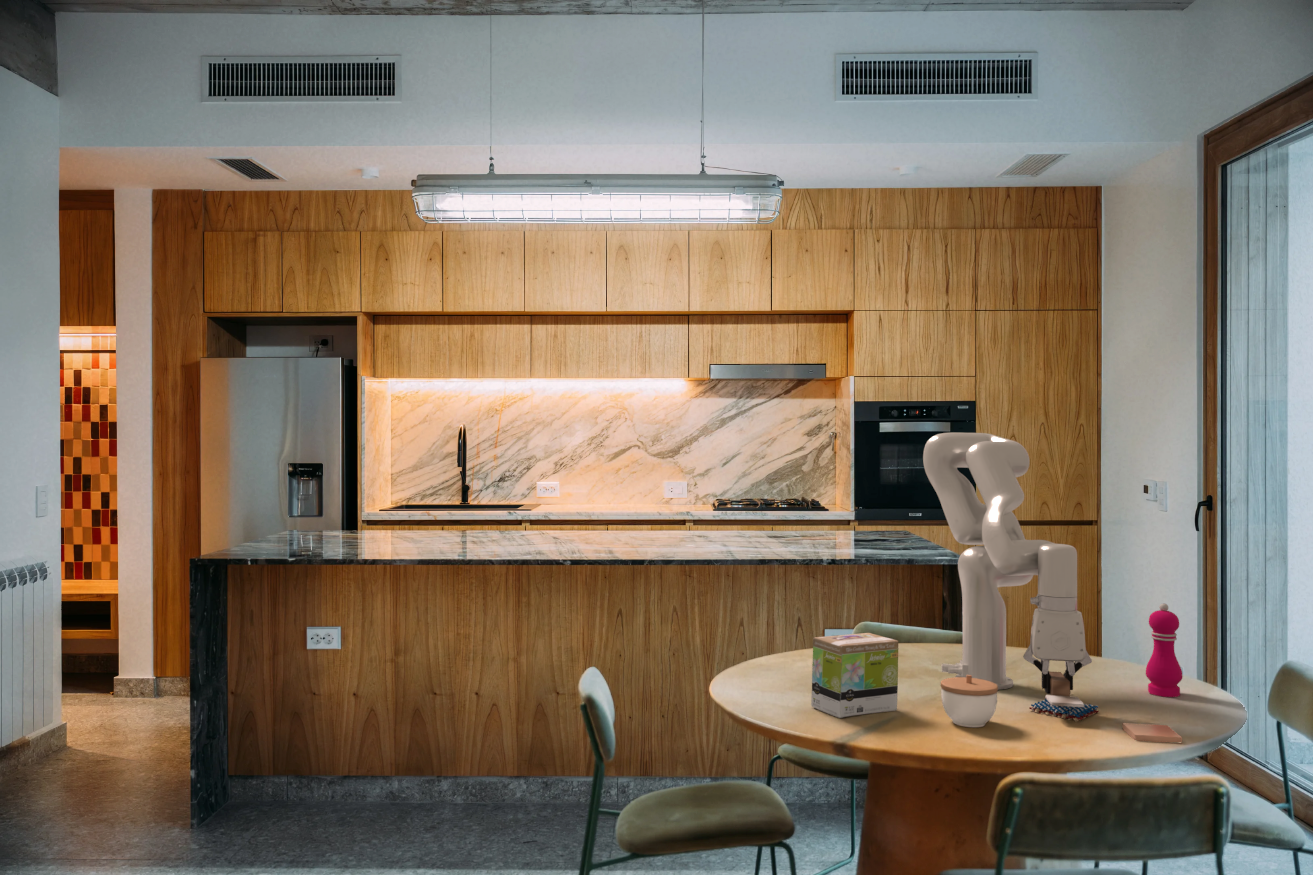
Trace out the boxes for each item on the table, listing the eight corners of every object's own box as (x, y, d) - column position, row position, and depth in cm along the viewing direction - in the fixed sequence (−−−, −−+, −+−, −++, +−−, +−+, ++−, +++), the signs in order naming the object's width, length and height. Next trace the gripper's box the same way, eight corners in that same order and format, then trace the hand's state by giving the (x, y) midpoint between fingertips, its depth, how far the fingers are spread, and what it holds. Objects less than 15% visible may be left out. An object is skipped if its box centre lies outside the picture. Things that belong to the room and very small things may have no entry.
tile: (1122, 731, 184) (1135, 743, 176) (1122, 722, 184) (1135, 734, 176) (1167, 733, 182) (1181, 746, 175) (1167, 725, 183) (1181, 737, 175)
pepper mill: (1187, 698, 206) (1187, 606, 207) (1151, 696, 208) (1151, 605, 208) (1176, 690, 213) (1176, 601, 214) (1141, 688, 215) (1141, 600, 215)
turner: (1051, 705, 187) (1051, 687, 187) (1037, 687, 202) (1037, 670, 202) (1084, 707, 186) (1084, 689, 186) (1067, 688, 201) (1067, 672, 201)
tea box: (841, 719, 188) (841, 645, 189) (810, 707, 197) (810, 636, 198) (899, 710, 195) (899, 638, 196) (867, 699, 204) (867, 630, 204)
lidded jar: (999, 733, 180) (999, 683, 180) (940, 728, 183) (941, 679, 183) (995, 717, 191) (995, 670, 191) (939, 713, 193) (940, 667, 194)
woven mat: (1049, 704, 203) (1049, 695, 203) (1100, 715, 195) (1100, 705, 195) (1026, 713, 196) (1026, 703, 196) (1078, 724, 188) (1078, 714, 188)
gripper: (1018, 605, 195) (1018, 695, 195) (1104, 608, 192) (1104, 699, 191) (1012, 599, 202) (1012, 686, 202) (1095, 602, 199) (1095, 690, 199)
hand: (1057, 691), depth 197 cm, fingers closed on turner, 3 cm apart
